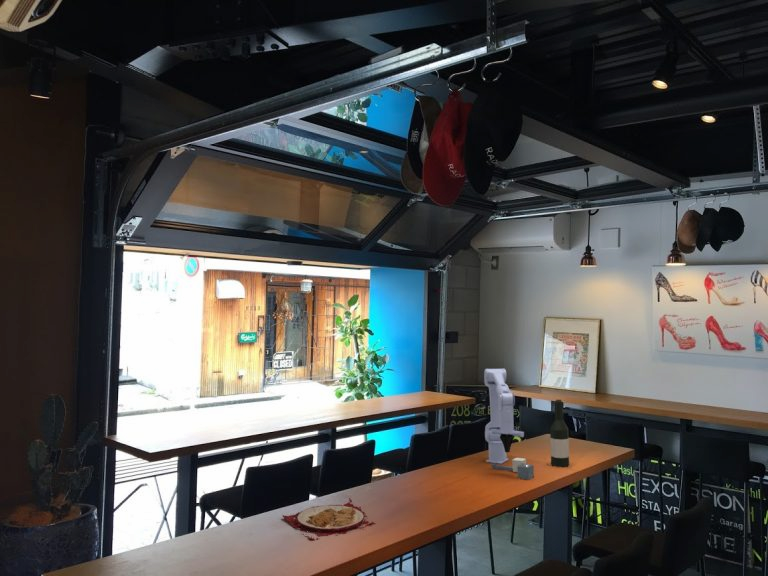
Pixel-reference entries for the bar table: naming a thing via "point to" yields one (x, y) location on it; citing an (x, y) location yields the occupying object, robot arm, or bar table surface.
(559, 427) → the wine bottle
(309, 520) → the plate with food
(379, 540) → the bar table surface
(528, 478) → the gauge cabinet
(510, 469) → the rail
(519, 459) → the carriage
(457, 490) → the bar table surface
